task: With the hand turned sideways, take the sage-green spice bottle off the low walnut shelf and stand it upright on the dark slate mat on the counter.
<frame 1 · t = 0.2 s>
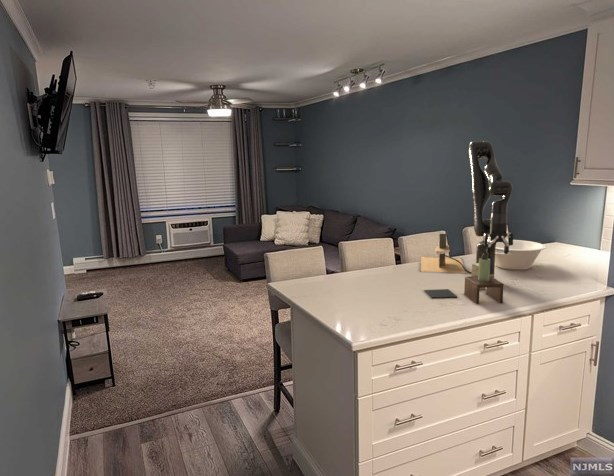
hand: (497, 253, 213), 17 cm above the counter, tool pointing down, fingers open, 8 cm apart
white wash basin: (512, 267, 257), on the counter
shelf: (482, 298, 199), on the counter
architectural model: (442, 264, 267), on the counter
mat: (440, 294, 208), on the counter
cosmetic box: (478, 288, 216), on the counter
bottle: (483, 280, 198), point 9 cm above the counter, touching shelf
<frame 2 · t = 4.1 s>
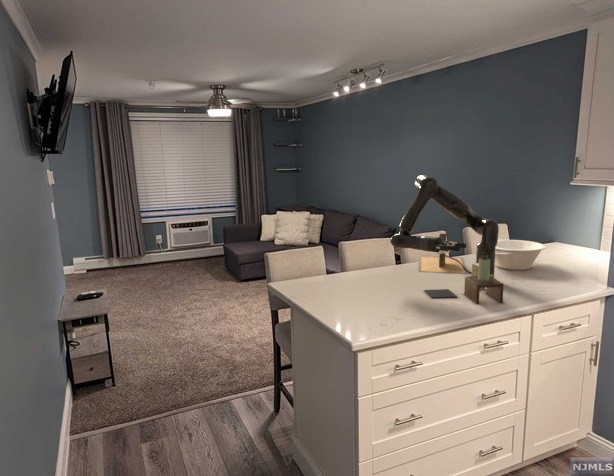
hand: (462, 247, 202), 23 cm above the counter, tool horizontal, fingers open, 8 cm apart
nothing on the counter moved.
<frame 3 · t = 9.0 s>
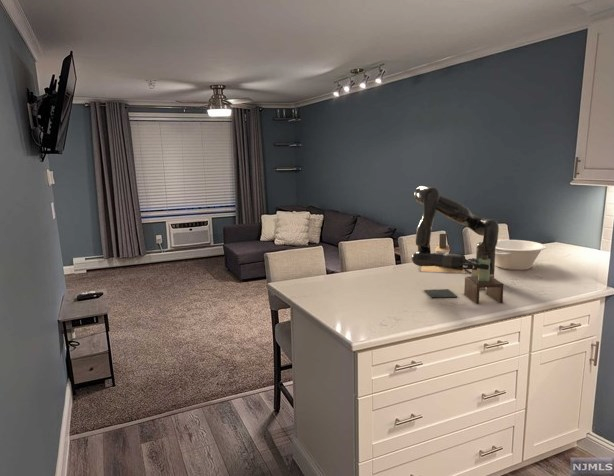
hand: (490, 266, 195), 16 cm above the counter, tool horizontal, fingers closed on bottle, 5 cm apart
bottle: (483, 280, 198), point 9 cm above the counter, touching gripper, shelf
everything else where it was.
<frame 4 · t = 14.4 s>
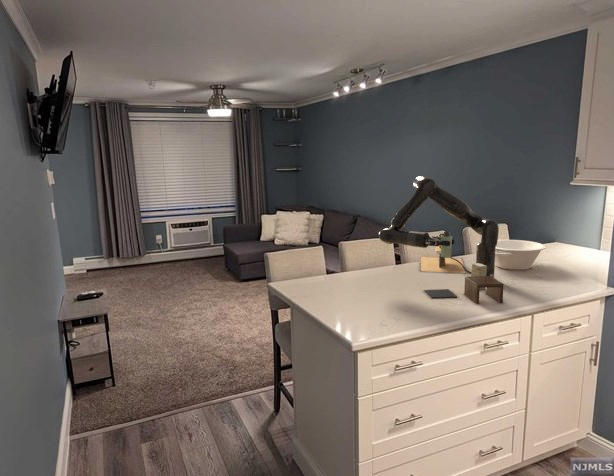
hand: (451, 242, 201), 26 cm above the counter, tool horizontal, fingers closed on bottle, 5 cm apart
bottle: (445, 256, 204), point 19 cm above the counter, touching gripper
everything else where it was.
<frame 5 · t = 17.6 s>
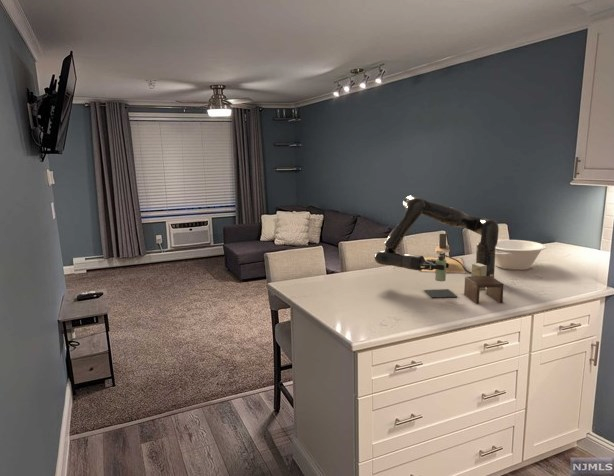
hand: (446, 266, 204), 14 cm above the counter, tool horizontal, fingers closed on bottle, 5 cm apart
bottle: (440, 280, 207), point 7 cm above the counter, touching gripper
everything else where it was.
when the fingers open (8 cm above the counter, at t = 19.8 s): bottle stays where it is, resting on mat.
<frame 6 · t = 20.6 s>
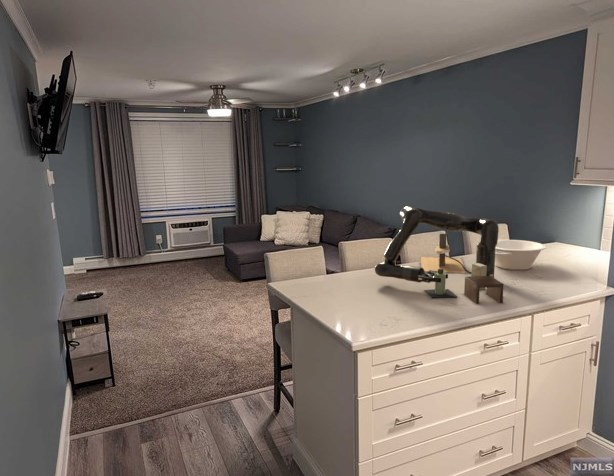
hand: (444, 278, 205), 8 cm above the counter, tool horizontal, fingers open, 8 cm apart
bottle: (440, 293, 208), resting on mat
everything else where it was.
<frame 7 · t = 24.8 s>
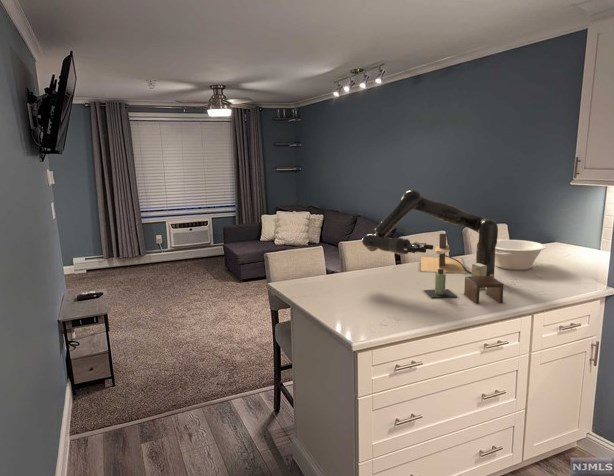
hand: (429, 248, 208), 22 cm above the counter, tool horizontal, fingers open, 8 cm apart
nothing on the counter moved.
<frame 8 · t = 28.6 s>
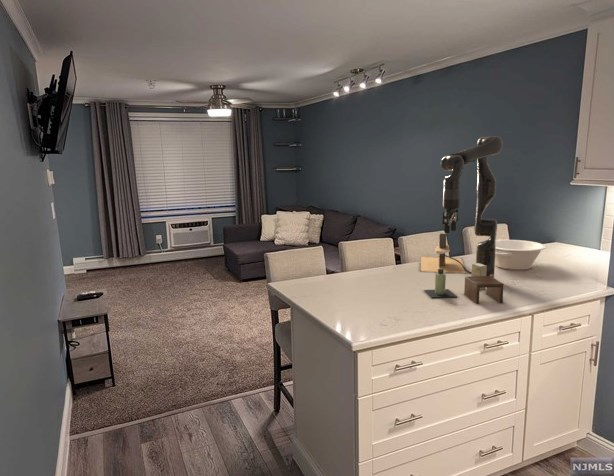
hand: (450, 231, 206), 30 cm above the counter, tool pointing down, fingers open, 8 cm apart
nothing on the counter moved.
at the end: bottle inside the target area (0.1 cm from its centre), point 0.5 cm above the counter; bottle tilted 0°; the gripper is holding nothing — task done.
